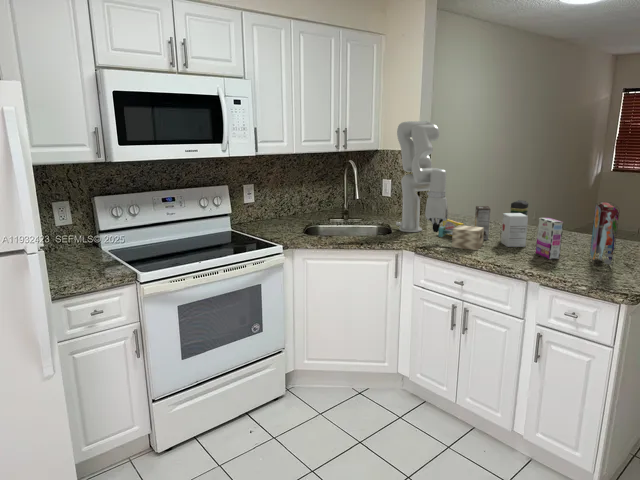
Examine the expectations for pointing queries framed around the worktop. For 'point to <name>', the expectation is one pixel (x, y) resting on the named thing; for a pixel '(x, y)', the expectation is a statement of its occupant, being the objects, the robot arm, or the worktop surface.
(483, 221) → the coffee box
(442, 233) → the teal and silver rod
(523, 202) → the coffee jar
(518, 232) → the supplement box
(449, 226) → the candy box
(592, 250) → the box
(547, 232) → the candy bar box
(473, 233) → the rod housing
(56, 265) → the worktop surface
